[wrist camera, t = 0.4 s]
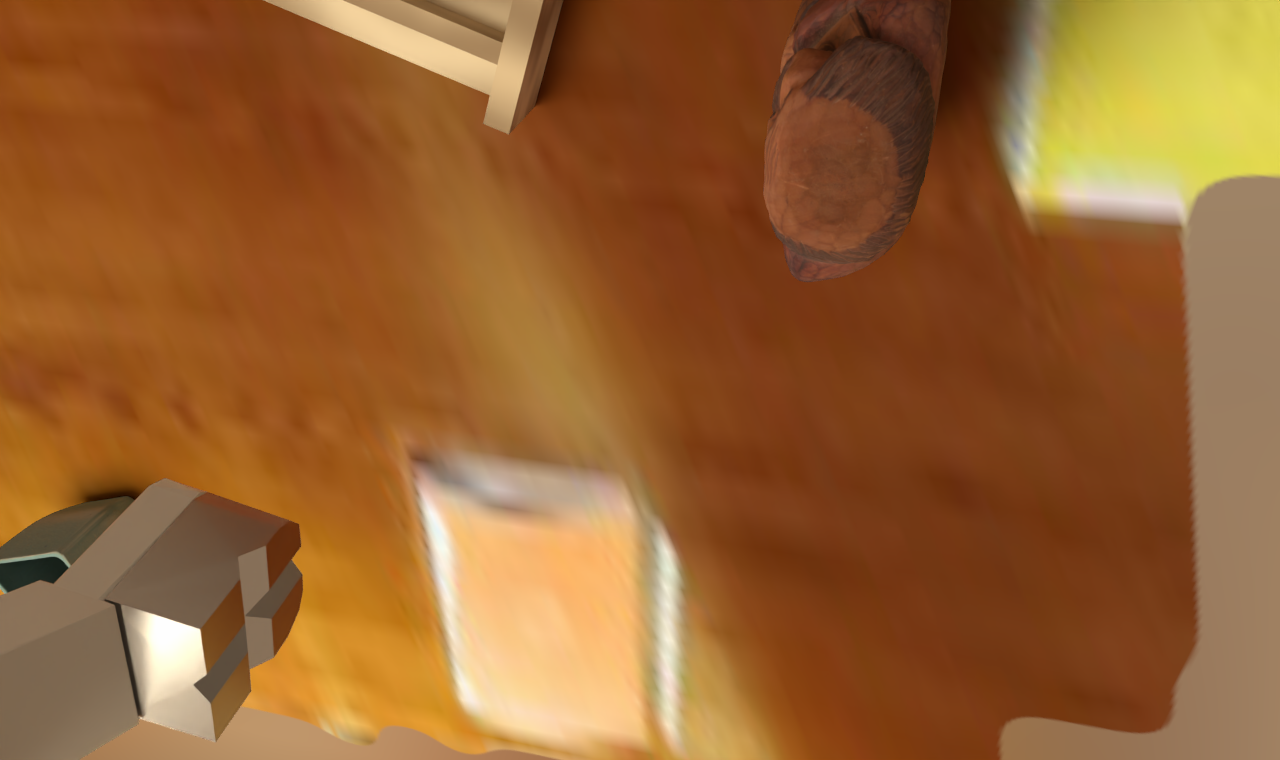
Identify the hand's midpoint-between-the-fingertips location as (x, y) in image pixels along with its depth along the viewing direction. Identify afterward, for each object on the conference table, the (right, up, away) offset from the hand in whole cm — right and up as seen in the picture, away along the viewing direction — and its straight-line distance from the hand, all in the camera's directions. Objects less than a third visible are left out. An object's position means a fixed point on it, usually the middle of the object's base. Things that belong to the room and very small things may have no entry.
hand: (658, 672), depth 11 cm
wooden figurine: (+11, +19, +39) cm, 45 cm away
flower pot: (-42, -8, +75) cm, 86 cm away
